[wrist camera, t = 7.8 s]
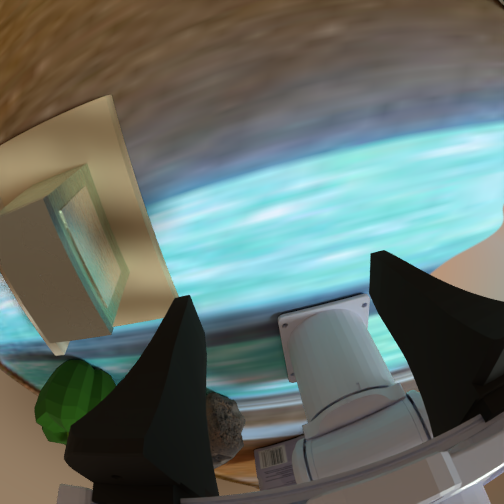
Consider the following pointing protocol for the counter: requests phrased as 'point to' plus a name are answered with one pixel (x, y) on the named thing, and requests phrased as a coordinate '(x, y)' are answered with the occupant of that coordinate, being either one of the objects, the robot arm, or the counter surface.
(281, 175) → the counter surface
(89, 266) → the tea tin
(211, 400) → the perforated stone tool
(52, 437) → the bell pepper
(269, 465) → the cake pan box
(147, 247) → the shelf board
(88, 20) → the counter surface
